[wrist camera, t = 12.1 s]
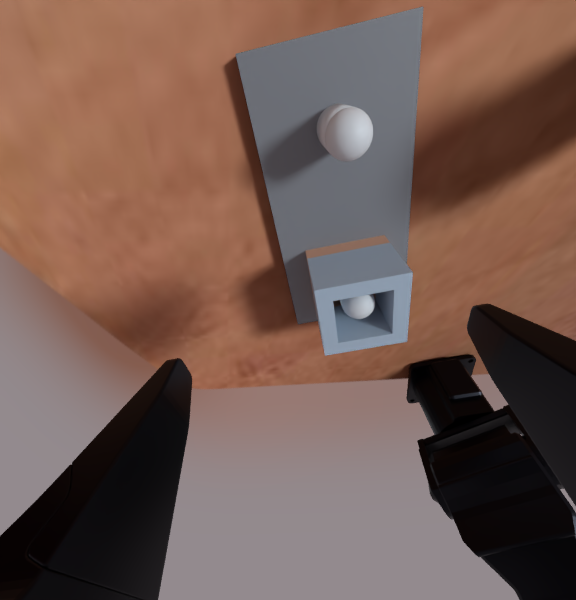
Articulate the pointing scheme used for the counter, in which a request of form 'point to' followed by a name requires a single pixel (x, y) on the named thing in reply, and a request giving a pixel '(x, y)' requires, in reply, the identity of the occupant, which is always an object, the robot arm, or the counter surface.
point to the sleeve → (360, 293)
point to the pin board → (336, 140)
